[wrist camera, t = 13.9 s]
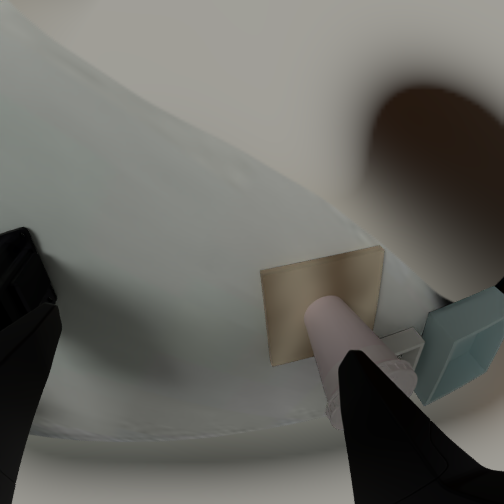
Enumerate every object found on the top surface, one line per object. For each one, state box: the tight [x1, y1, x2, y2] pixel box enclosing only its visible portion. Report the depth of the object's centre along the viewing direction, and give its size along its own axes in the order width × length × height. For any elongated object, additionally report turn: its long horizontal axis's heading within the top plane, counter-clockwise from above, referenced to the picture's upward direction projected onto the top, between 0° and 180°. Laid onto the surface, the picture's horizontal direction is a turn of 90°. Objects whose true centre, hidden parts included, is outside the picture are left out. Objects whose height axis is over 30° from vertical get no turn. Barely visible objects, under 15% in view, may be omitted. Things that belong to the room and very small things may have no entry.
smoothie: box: [304, 295, 418, 431], centre depth 20 cm, size 6×6×14 cm
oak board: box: [260, 245, 384, 367], centre depth 26 cm, size 10×10×1 cm
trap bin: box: [414, 286, 504, 406], centre depth 32 cm, size 12×12×5 cm
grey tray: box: [381, 327, 425, 371], centre depth 31 cm, size 8×8×2 cm
